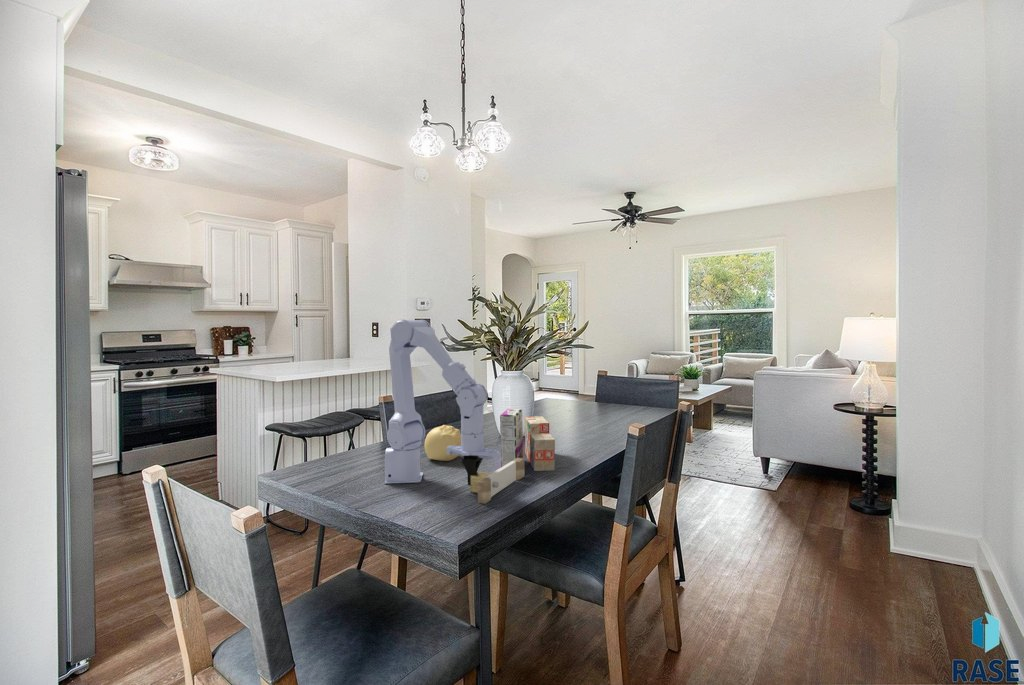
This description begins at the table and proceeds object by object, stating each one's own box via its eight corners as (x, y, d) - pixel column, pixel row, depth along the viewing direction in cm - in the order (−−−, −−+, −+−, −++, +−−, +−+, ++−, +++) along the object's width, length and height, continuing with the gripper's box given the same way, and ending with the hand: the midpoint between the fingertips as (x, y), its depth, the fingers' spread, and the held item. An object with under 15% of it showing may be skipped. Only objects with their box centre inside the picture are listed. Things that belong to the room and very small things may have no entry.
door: (485, 496, 119) (485, 476, 119) (511, 479, 133) (511, 461, 132) (493, 498, 118) (493, 477, 118) (519, 480, 132) (519, 462, 131)
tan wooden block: (470, 493, 123) (470, 475, 123) (478, 488, 127) (478, 471, 126) (487, 496, 121) (487, 478, 121) (495, 491, 124) (495, 473, 124)
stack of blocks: (555, 470, 142) (555, 428, 141) (533, 471, 141) (533, 429, 140) (543, 452, 163) (542, 415, 162) (524, 452, 162) (524, 416, 162)
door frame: (477, 502, 116) (477, 481, 116) (518, 475, 137) (517, 457, 137) (485, 503, 115) (484, 482, 115) (524, 476, 136) (524, 458, 136)
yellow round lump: (460, 463, 149) (459, 428, 149) (421, 463, 150) (420, 428, 149) (464, 454, 161) (464, 421, 160) (428, 454, 161) (428, 421, 161)
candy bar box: (507, 460, 153) (507, 408, 152) (523, 460, 152) (523, 408, 152) (499, 470, 142) (499, 414, 142) (516, 471, 141) (516, 414, 141)
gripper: (439, 432, 124) (440, 485, 124) (490, 438, 118) (490, 493, 118) (454, 427, 130) (454, 477, 131) (503, 432, 124) (503, 484, 125)
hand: (472, 484), depth 125 cm, fingers closed, pressing on tan wooden block
